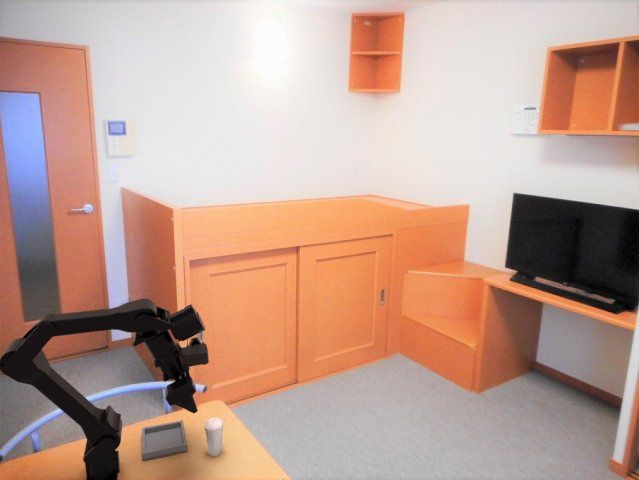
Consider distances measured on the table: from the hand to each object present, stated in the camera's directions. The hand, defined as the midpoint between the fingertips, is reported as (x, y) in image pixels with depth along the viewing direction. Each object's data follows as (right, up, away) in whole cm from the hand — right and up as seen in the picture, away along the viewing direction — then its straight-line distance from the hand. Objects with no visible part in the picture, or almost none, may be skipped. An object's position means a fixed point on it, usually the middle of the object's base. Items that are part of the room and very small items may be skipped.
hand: (193, 401), depth 112 cm
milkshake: (+4, -15, +5) cm, 16 cm away
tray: (-10, -13, +8) cm, 18 cm away
